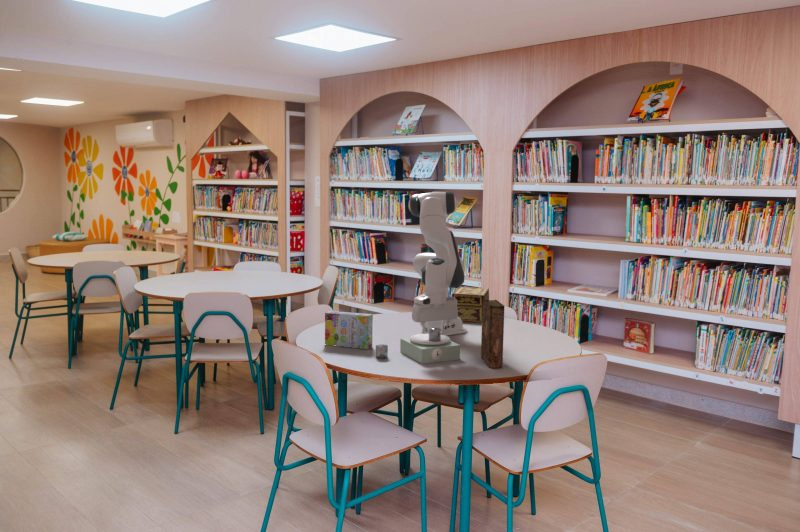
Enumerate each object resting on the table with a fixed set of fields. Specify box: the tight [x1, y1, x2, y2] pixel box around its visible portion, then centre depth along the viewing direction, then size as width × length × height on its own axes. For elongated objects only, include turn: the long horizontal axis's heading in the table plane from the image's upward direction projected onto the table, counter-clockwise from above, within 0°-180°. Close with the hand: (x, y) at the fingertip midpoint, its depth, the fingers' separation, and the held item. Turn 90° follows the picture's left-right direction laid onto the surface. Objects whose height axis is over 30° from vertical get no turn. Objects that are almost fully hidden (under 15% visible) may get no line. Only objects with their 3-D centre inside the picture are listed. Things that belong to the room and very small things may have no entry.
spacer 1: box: [375, 343, 389, 360], centre depth 267 cm, size 5×5×5 cm
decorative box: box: [451, 286, 490, 324], centre depth 352 cm, size 28×19×15 cm
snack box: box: [324, 310, 374, 350], centre depth 284 cm, size 21×6×15 cm, turn 71°
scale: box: [399, 333, 461, 364], centre depth 270 cm, size 18×21×8 cm
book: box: [480, 299, 505, 370], centre depth 259 cm, size 16×6×25 cm, turn 5°
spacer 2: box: [429, 327, 441, 342], centre depth 266 cm, size 5×5×5 cm
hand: (435, 330), depth 266 cm, fingers open, 8 cm apart
